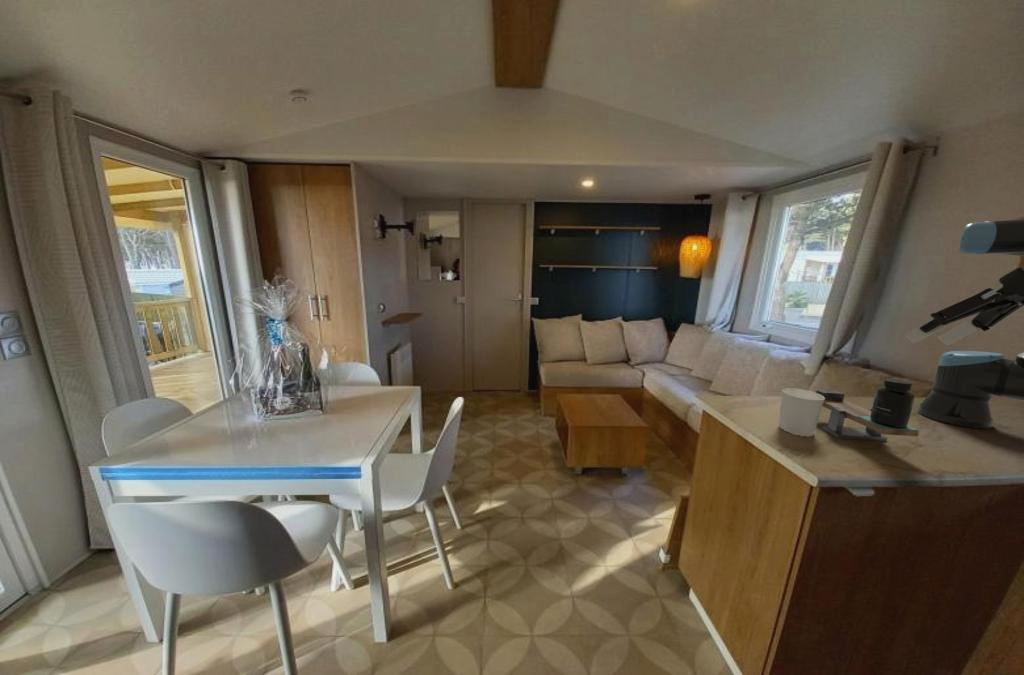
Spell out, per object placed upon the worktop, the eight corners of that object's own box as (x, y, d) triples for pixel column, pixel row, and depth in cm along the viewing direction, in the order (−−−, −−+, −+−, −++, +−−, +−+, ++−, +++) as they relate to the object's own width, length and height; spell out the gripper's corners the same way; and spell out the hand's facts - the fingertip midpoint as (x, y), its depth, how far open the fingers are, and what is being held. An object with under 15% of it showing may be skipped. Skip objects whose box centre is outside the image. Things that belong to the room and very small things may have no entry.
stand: (867, 431, 102) (873, 407, 101) (886, 441, 97) (893, 415, 95) (821, 428, 104) (826, 404, 102) (837, 438, 98) (843, 412, 96)
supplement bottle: (870, 423, 90) (879, 380, 88) (868, 416, 95) (876, 375, 93) (909, 431, 85) (920, 386, 83) (905, 423, 90) (914, 380, 88)
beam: (837, 403, 111) (839, 390, 110) (918, 438, 87) (922, 421, 86) (809, 402, 112) (811, 389, 111) (881, 436, 87) (885, 419, 87)
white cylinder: (817, 430, 103) (825, 393, 101) (816, 441, 96) (824, 402, 94) (777, 420, 110) (783, 385, 107) (774, 430, 102) (780, 393, 100)
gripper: (1029, 284, 65) (908, 350, 80) (1092, 294, 71) (969, 353, 87) (990, 259, 69) (882, 326, 85) (1052, 271, 76) (942, 331, 92)
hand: (926, 340), depth 86 cm, fingers open, 13 cm apart
